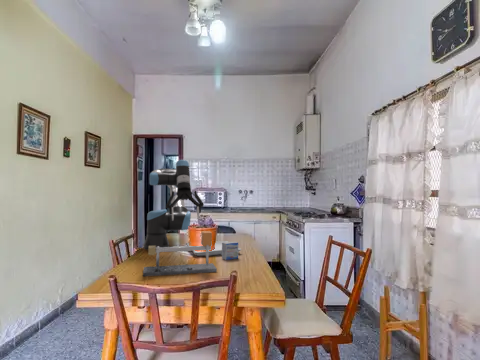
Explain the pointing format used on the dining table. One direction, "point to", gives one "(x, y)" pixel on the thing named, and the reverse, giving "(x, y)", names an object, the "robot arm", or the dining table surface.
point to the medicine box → (230, 250)
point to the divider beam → (156, 250)
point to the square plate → (214, 252)
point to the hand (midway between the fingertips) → (185, 218)
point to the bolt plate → (179, 269)
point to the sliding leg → (206, 243)
